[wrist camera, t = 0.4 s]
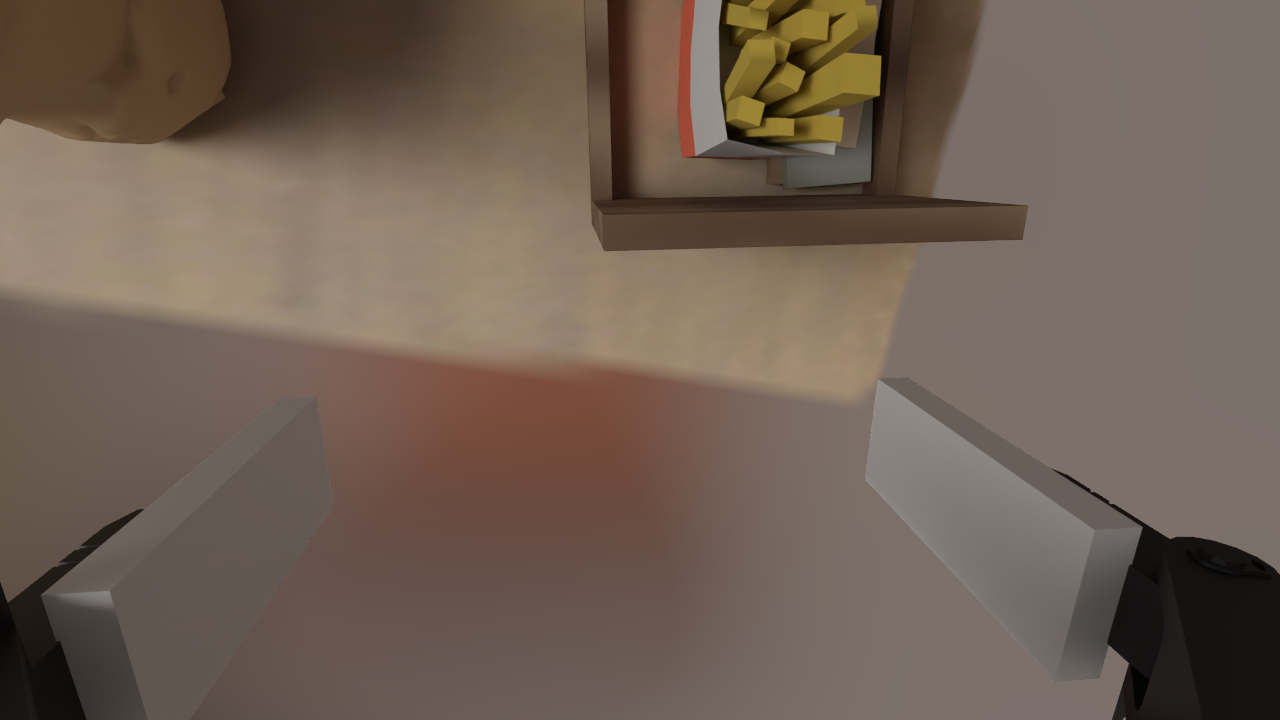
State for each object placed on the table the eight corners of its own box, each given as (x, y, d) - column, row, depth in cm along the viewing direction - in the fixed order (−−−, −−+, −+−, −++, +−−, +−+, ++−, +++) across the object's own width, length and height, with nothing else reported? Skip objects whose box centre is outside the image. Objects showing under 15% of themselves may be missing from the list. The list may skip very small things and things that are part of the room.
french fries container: (669, 157, 39) (748, 149, 22) (677, -41, 36) (776, -230, 19) (740, 160, 40) (872, 153, 23) (754, -35, 37) (919, -215, 19)
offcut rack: (579, -120, 34) (587, -303, 21) (908, -109, 36) (1106, -271, 23) (592, 223, 40) (604, 251, 26) (877, 217, 42) (1022, 239, 28)
